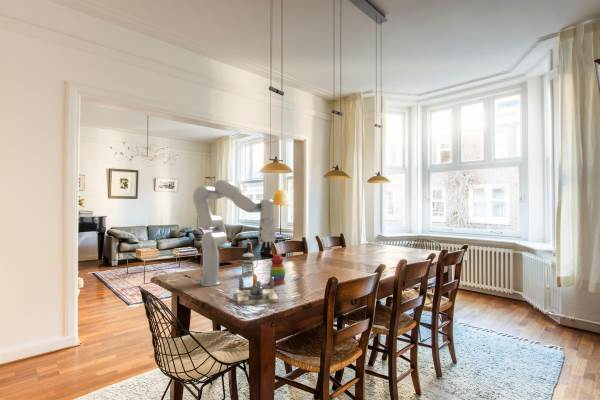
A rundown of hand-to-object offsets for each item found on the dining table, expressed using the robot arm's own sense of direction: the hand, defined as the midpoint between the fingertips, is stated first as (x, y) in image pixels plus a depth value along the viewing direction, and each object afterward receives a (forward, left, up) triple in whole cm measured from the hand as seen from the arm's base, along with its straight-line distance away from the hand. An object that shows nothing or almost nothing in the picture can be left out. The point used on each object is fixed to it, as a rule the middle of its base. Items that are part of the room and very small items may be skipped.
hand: (266, 253), depth 180 cm
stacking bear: (+9, +17, -21) cm, 29 cm away
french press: (-6, +41, -21) cm, 46 cm away
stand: (-7, -11, -21) cm, 25 cm away
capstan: (-7, -11, -19) cm, 23 cm away
